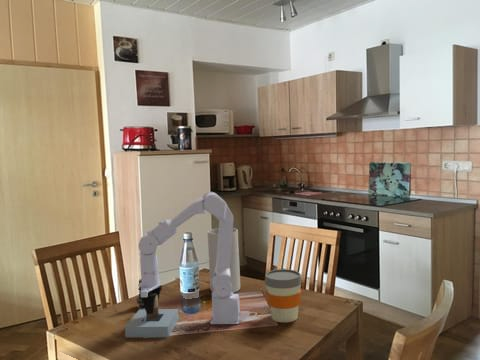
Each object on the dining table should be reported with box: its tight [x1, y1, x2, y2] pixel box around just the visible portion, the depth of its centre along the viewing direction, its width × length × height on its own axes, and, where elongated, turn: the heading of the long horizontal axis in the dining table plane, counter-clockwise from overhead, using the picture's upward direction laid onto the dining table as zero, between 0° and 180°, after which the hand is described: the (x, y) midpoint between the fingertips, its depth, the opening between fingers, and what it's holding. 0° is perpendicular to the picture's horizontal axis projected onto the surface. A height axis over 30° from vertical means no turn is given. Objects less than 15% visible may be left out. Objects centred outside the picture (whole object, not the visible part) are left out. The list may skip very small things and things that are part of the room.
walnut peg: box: [146, 295, 159, 319], centre depth 137 cm, size 4×4×7 cm
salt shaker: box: [135, 279, 145, 311], centre depth 156 cm, size 6×6×12 cm
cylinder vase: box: [207, 227, 241, 294], centre depth 171 cm, size 12×12×25 cm
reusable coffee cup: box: [264, 268, 303, 323], centre depth 141 cm, size 13×13×15 cm
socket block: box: [124, 308, 180, 338], centre depth 138 cm, size 14×14×4 cm
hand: (152, 310), depth 138 cm, fingers closed on walnut peg, 4 cm apart
